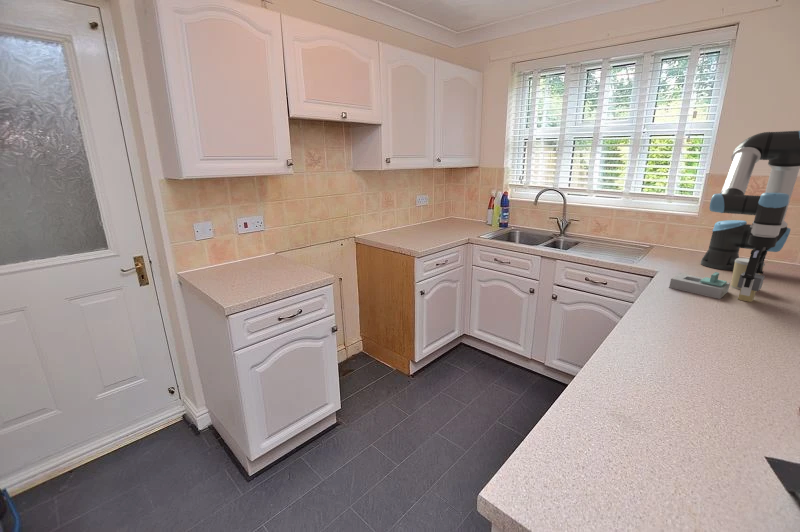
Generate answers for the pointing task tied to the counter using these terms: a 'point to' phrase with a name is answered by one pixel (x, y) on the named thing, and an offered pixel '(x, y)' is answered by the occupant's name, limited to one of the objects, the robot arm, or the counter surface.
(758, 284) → the plug
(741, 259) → the coffee cup
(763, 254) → the robot arm
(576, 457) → the counter surface
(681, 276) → the socket plate
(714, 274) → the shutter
